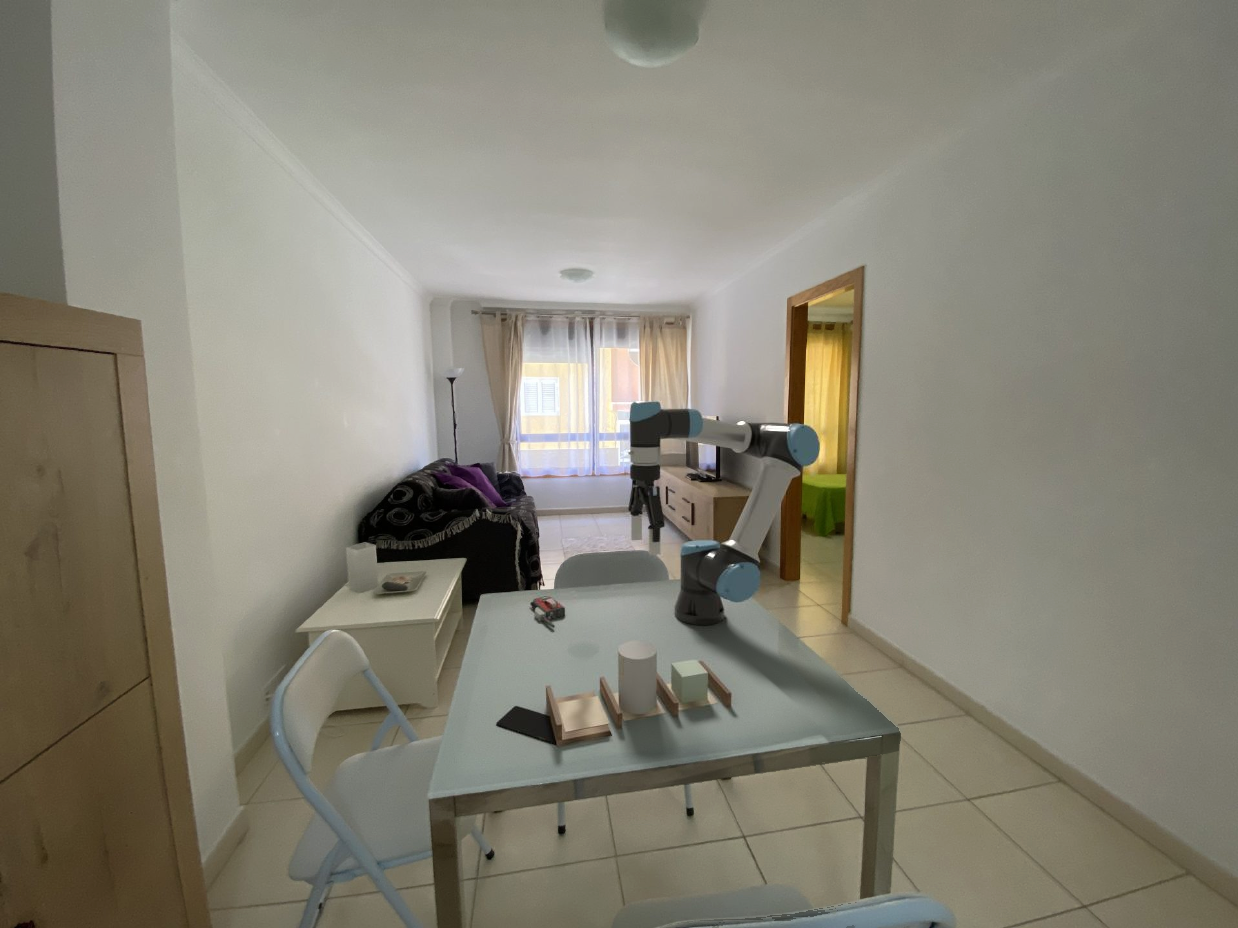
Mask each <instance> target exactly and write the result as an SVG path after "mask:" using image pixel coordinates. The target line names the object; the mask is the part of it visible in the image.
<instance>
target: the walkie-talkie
mask: <svg viewBox="0 0 1238 928" xmlns="http://www.w3.org/2000/svg"><path fill="white" fill-rule="evenodd" d="M530 606H531V607H532V609H534V617H535V618H536V619H537V620H538V621H539V622H541V621H543V622H544V623H545V624H547V625H548V626H550V627H551V628H554V629H555V627H556V626H555V624H554V623H553V622H551V621H550V620H553V619H556V618H562V617H565V615H566V607H565V606H564V605H562V604H561V603H560V602H558V601H557V600H556V599H555V598H553V597H552V596H550V595H549V596H548V595H546V596H541V597H536V598H534V599H533V600H532V601H531V602H530Z"/></svg>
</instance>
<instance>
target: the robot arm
mask: <svg viewBox="0 0 1238 928" xmlns="http://www.w3.org/2000/svg"><path fill="white" fill-rule="evenodd" d="M629 409H630V410H629V420H628V421H629V436H630V437H629V443H630V444H629V448H630V449H629V450H628V451H627V452H628V455H630V457H629V458H630V463H632V464H630V466H629V478H630V479H631V490H630V495H629V504H628V509H627V510H628V512H630V516H631V517H630V521H631V525H630V526H631V529H630V531H631V533H630V534H631V535H630V537H631V539H630V540H631V541H642V540H643V516H642V515H643V506H645V511H646V515H647V517H648V518H647V519H648V522H649V525H648V527H647V529H648V555H649V556H654V555H661V531H662V530H661V529H662V528H665V527H666V526H665V519H664V513H663V506H662V502H661V501H662V500H661V491H660V486H655V483H654V482H655V481H659V480H660V479H661V465H660V464H659V463H661V461H662V460H661V459H662V458H661V453H662V450H661V447H662V446H661V440H667V439H669V440H670V439H671V440H672V439H673V440H678V441H685V442H691V443H697V444H698V443H699V444H704V445H710V446H716V447H720V448H721V447H722V448H729V449H731V450H732V451H733V452H735V453H737V454H744V455H747V456H751V457H753V458H757V459H759V460H760V461H761V463H762V465H763V467H762V469H761V471H760V473H759V475H758V477H757V479H756V482H755V484H754V486H753V488H752V490H751V493H750V494H749V497H748V499H747V501H746V503H745V506H744V508H743V509H742V512H741V513H740V516H739V518H738V520H737V522H736V524H735V526H734V529H733V531H732V533H731V535H730V537H729V539H728V540H726V541H724V542H721V543H720V542H719V541H717V540H710V539H709V540H708V539H701V540H700V539H699V540H691V541H686V542H684V543H682V545H681V547H680V554H679V556H680V589H679V593H678V596H677V599H676V602H675V604H674V616H675V617H676V619H678V620H679V621H681V622H683V623H686V624H689V625H694V626H695V625H697V626H708V625H710V626H711V625H715V624H718V623H720V622H722V621H723V620H724V619H725V607H724V604H723V601H722V599H724V600H728V601H729V602H733V603H742V602H743V603H744V602H745V601H747V600H749V599H751V598H752V597H753V596H754V595H755V594H757V592H758V590H759V587H760V585H761V581H762V578H761V571H760V569H759V565H760V563H761V560H760V558H759V554H758V553H759V551H760V549H761V547H762V544H763V542H764V541H765V538H766V536H767V534H768V532H769V529H770V528H771V525H772V523H773V522H774V519H775V517H776V515H777V512H778V510H779V508H780V506H781V504H782V501H783V500H784V497H785V495H786V492H787V490H788V488H789V486H790V484H791V482H792V479H793V478H797V477H799V476H800V475H801V473H802V471H803V469H804V467H808V466H809V467H810V466H811V465H813V464H814V463H815V462H816V461H817V460H818V457H819V455H820V450H821V447H820V445H821V443H820V440H819V436H818V434H817V432H816V431H815V429H814V428H813V427H811V426H810V425H807V424H803V423H801V424H800V423H798V422H795V423H794V422H793V423H784V422H782V423H781V422H746V421H739V422H737V423H733V422H728V421H722V420H717V419H712V418H706V417H703V416H702V413H701V412H700V411H699V410H698V409H695V408H689V407H687V408H662V406H661V403H660V401H656V400H655V401H648V400H647V401H646V400H645V401H633V402H632V403H631V404H630V408H629Z"/></svg>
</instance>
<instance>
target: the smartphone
mask: <svg viewBox="0 0 1238 928" xmlns="http://www.w3.org/2000/svg"><path fill="white" fill-rule="evenodd" d="M495 726H497V727H499V728H503V729H505V730H509V731H511V732H512V733H513V732H514V733H517V734H519V735H523V736H525V737H529V738H531V739H534V740H538V741H540V742H544V743H547V744H550V745H552V746H557V743H556V739H555V735H554V731H553V727H552V723H551V719H550V716H549V714H545V713H542V712H538V711H535V710H533V709H528V708H525V707H521V706H518V705H515V706H513V707H512V708H511V709H509V711H508V712H507V713H505V714H504V715H503V716H502V717H501V718H500V719H498V721H497V722H496V723H495Z"/></svg>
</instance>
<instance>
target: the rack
mask: <svg viewBox="0 0 1238 928" xmlns="http://www.w3.org/2000/svg"><path fill="white" fill-rule="evenodd" d="M697 661H698V662H699V663H700V664H701V665H702V667H703V668H704V669H705V670H706V671H707V672H708V687H709V688H710V690H712V692H713V694H715V696H716V697H717V698H719V700H720V701H721V703H722V704H723V705H724V706H725V707H726V708H730V707H732V692H731V691H730V689H729V688H728V687H727V686H726V685H725V684H724V683H723V682H722V681H721V679H719V678H718V676H717V675H716V674H715V673H714V672H713V670H711V669H710V668H709V666H708V665H707V664H706V663H705V662H704V661H703V660H697ZM594 692H595V691H592V692H586V693H585V692H584V693H579V694H573V695H568V696H567V695H566V696H561V697H556V698H555V696H554V691H553V689H552V685H545V699H546V701H545V704H546V708H547V709H546V710H547V713H548V715H549V716H550V719H551V723H552V727H553V731H554V735H555V739H556V743H557V745H556V747H557V748H558V747H561V746H563V747H564V746H568V745H573V744H577V743H582V742H588V741H592V740H593V741H594V740H597V739H604V738H609V737H612V736H613V733H612V731H611V730H610V727H609V725H610V724H611V722H610V720H609V719H608V716H607V714H606V712H605V709H604V706H603V704H602V702H601V700H600V697H599V696H598V695H595V693H594ZM599 692H600V694H601V696H602V698H603V700H604V703H605V705H606V707H607V709H608V711H609V713H610V715H611V718H612V720H613V722H614V725H615V726H616V729H617V730H618V729H622V728H623V721H624V722H627V721H631V720H635V719H640V718H641V719H642V718H647V717H652V716H657V715H662V714H663V715H664V714H666V710H665V709H664V707H663V706H662V704H661V703H660V702H659V700H658V699H657V705H656V707H655V708H654V709H653V710H652V711H651V712H648V713H645V714H631V713H628V712H625V711H624V710H622V709H621V708H620V706H619V696H618V692H612V690H611V688H610V686H609V684H608V681H607V680H606V678H605V676H600V677H599ZM657 694H658V696H659V698H660V699H661V701H662V702H663V703H664V705H665V706H666V708H667V709H668V711H669V713H670V714H671V716H672V717H673V718H679V713H680V712H679V711H684V710H688V709H694V708H698V707H704V706H709V705H714V704H718V701H717V700H716V698H715V697H714V696H713V695H712V694H711V692H710V691H709V690H708V699H704V700H698V701H693V702H688V703H681V702H680V700H679V699H678V697H677V696H676V695H675V693H674V692H673V690H672V689H671V682H670V683H666V682H665V681H664V680H663V678H662V677H661V676H660V674H659V673H658V672H657Z"/></svg>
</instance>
